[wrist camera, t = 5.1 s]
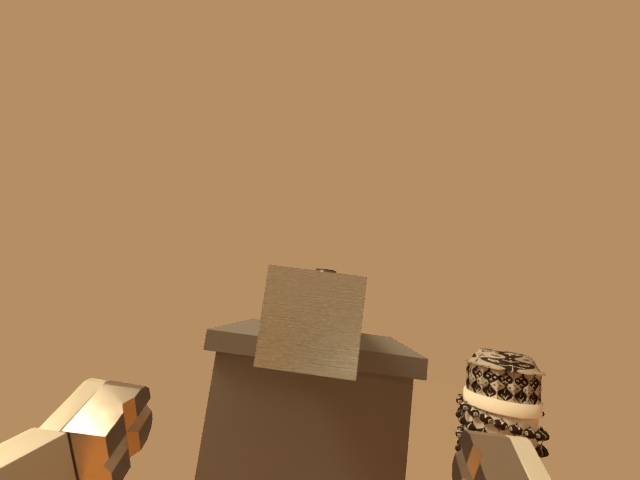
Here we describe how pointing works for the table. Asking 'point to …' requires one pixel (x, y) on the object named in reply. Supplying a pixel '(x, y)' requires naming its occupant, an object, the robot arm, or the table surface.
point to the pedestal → (306, 414)
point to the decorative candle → (502, 397)
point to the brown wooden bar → (311, 322)
